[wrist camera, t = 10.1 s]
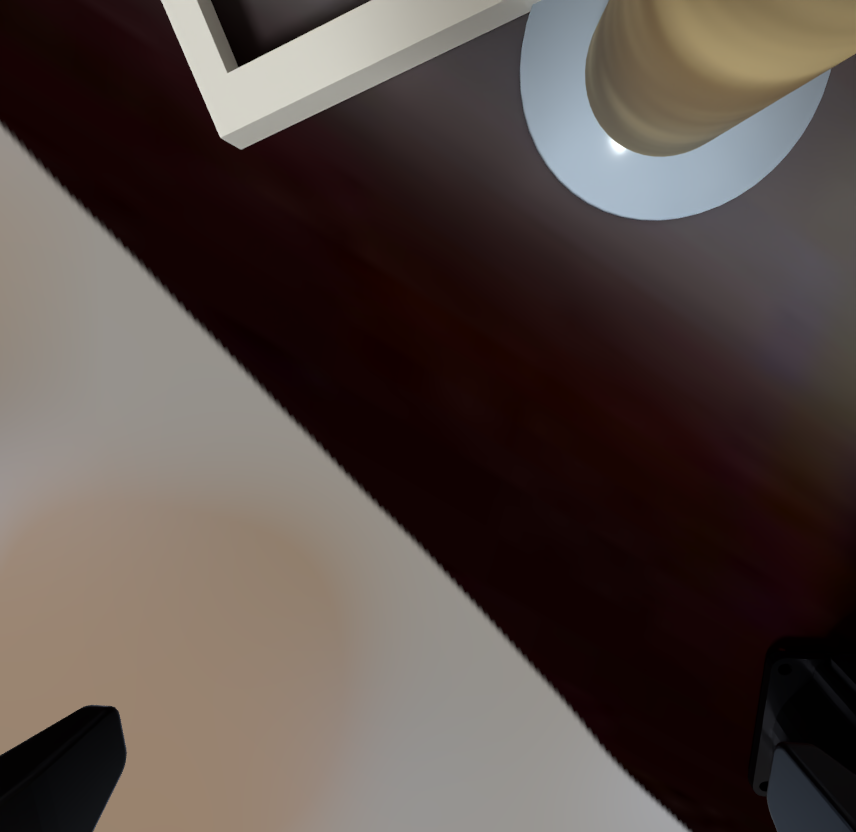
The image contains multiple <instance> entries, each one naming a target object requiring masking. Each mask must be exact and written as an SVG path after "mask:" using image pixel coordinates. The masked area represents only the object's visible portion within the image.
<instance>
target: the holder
mask: <svg viewBox="0 0 856 832" xmlns="http://www.w3.org/2000/svg"><path fill="white" fill-rule="evenodd" d="M161 1H162V3H163V6H164V8H165V10H166V13H167V15H168V17H169V19H170V22H171V24H172V26H173V29H174V31H175V33H176V36H177V38H178V40H179V43H180V45H181V47H182V50H183V52H184V54H185V57H186V59H187V61H188V64H189V66H190V68H191V71H192V73H193V75H194V78H195V80H196V82H197V85H198V87H199V89H200V92H201V94H202V96H203V99H204V101H205V103H206V106H207V108H208V110H209V112H210V115H211V117H212V119H213V122H214V124H215V126H216V129H217V131H218V133H219V136H220V138H222V139H223V140H225V141H227V142H229V143H230V144H232V145H234V146H236V147H238V148H239V149H243V148H245V147H248V146H250V145H252V144H254V143H256V142H258V141H260V140H262V139H264V138H266V137H268V136H271V135H273V134H275V133H277V132H279V131H281V130H283V129H285V128H287V127H289V126H292V125H294V124H296V123H298V122H300V121H302V120H304V119H306V118H308V117H310V116H313V115H315V114H317V113H319V112H321V111H323V110H325V109H327V108H329V107H331V106H333V105H336V104H338V103H340V102H342V101H344V100H346V99H348V98H350V97H352V96H354V95H357V94H359V93H361V92H363V91H365V90H367V89H369V88H371V87H373V86H375V85H378V84H380V83H382V82H384V81H386V80H388V79H390V78H392V77H394V76H396V75H398V74H401V73H403V72H405V71H407V70H409V69H411V68H413V67H415V66H417V65H419V64H422V63H424V62H426V61H428V60H430V59H432V58H434V57H436V56H438V55H440V54H443V53H445V52H447V51H449V50H451V49H453V48H455V47H457V46H459V45H461V44H463V43H466V42H468V41H470V40H472V39H474V38H476V37H478V36H480V35H482V34H484V33H487V32H489V31H491V30H493V29H495V28H497V27H499V26H501V25H503V24H505V23H508V22H510V21H512V20H514V19H516V18H518V17H520V16H522V15H524V14H526V13H528V12H530V11H531V8H532V5H533V4H535V3H537V2H539V1H541V0H371V1H369V2H367V3H365V4H363V5H361V6H359V7H357V8H355V9H353V10H351V11H349V12H347V13H345V14H343V15H341V16H339V17H337V18H335V19H334V20H332V21H330V22H328V23H326V24H324V25H322V26H320V27H318V28H316V29H314V30H312V31H310V32H308V33H306V34H304V35H302V36H300V37H298V38H296V39H294V40H292V41H290V42H288V43H286V44H284V45H282V46H280V47H278V48H276V49H274V50H272V51H270V52H268V53H266V54H264V55H263V56H261V57H259V58H257V59H255V60H253V61H251V62H249V63H247V64H245V65H243V66H241V67H238V65H237V63H236V60H235V58H234V55H233V53H232V51H231V48H230V46H229V43H228V41H227V38H226V36H225V34H224V31H223V29H222V26H221V24H220V21H219V19H218V17H217V14H216V12H215V9H214V7H213V5H212V2H211V0H161Z"/></svg>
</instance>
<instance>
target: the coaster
mask: <svg viewBox="0 0 856 832" xmlns="http://www.w3.org/2000/svg"><path fill="white" fill-rule="evenodd" d="M608 1H609V0H541V1H539V2H537V3H535V4H533V5H532V8H531V11H530V14H529V17H528V21H527V24H526V29H525V34H524V39H523V44H522V50H521V60H520V73H519V74H520V95H521V101H522V107H523V113H524V117H525V120H526V124H527V127H528V131H529V134H530V136H531V138H532V141H533V143H534V145H535V147H536V150H537V152H538V153H539V155H540V156H541V158H542V160H543V161H544V163H545V165H546V166H547V168H548V169H549V170H550V171H551V172H552V174H553V175H554V176H555V177H556V179H557V180H558V181H559V182H560V183H561V184H562V185H563V186H564V187H566V188H567V189H568V190H569V191H570V192H571V193H572V194H574V195H575V196H577V197H578V198H579V199H581V200H582V201H584V202H585V203H587V204H589V205H591V206H593V207H595V208H597V209H599V210H601V211H603V212H606V213H609V214H612V215H615V216H618V217H623V218H628V219H634V220H646V221H661V220H671V219H678V218H682V217H687V216H691V215H695V214H698V213H701V212H704V211H707V210H709V209H712V208H715V207H718V206H720V205H722V204H724V203H726V202H728V201H730V200H732V199H734V198H736V197H738V196H739V195H741V194H742V193H744V192H745V191H747V190H748V189H750V188H751V187H753V186H754V185H755V184H757V183H758V182H759V181H760V180H761V179H763V178H764V177H765V176H766V175H767V174H769V173H770V172H771V171H772V170H773V169H774V168H775V167H776V166H777V165H778V164H779V163H780V162H781V161H782V160H783V158H784V157H785V156H786V155H787V154H788V153H789V152H790V150H791V149H792V148H793V146H794V145H795V144H796V142H797V141H798V140H799V138H800V137H801V136H802V134H803V132H804V131H805V129H806V127H807V126H808V124H809V122H810V121H811V119H812V117H813V116H814V113H815V111H816V109H817V107H818V105H819V102H820V100H821V98H822V96H823V93H824V90H825V87H826V84H827V81H828V78H829V75H830V71H831V69H829V70H828V71H826V72H824V73H823V74H821V75H819V76H818V77H816V78H814V79H813V80H811V81H809V82H808V83H806V84H804V85H803V86H801V87H799V88H798V89H796V90H794V91H793V92H791V93H789V94H788V95H786V96H784V97H783V98H781V99H779V100H778V101H776V102H774V103H773V104H771V105H769V106H768V107H766V108H764V109H763V110H761V111H759V112H758V113H756V114H754V115H753V116H751V117H749V118H748V119H746V120H744V121H743V122H741V123H739V124H738V125H736V126H734V127H733V128H731V129H729V130H728V131H726V132H724V133H723V134H721V135H720V136H718V137H716V138H715V139H713V140H711V141H710V142H708V143H706V144H704V145H702V146H701V147H699V148H697V149H694V150H692V151H689V152H687V153H683V154H679V155H675V156H666V157H653V156H647V155H642V154H639V153H635V152H632V151H630V150H628V149H626V148H624V147H622V146H621V145H620V144H618V143H617V142H615V141H614V140H613V139H612V138H611V137H610V136H608V135H607V134H606V132H605V131H604V130H603V129H602V127H601V126H600V125H599V123H598V121H597V120H596V118H595V116H594V114H593V112H592V109H591V107H590V104H589V100H588V97H587V91H586V85H585V66H586V58H587V53H588V48H589V45H590V42H591V39H592V36H593V33H594V31H595V29H596V27H597V25H598V23H599V20H600V18H601V16H602V14H603V12H604V10H605V8H606V6H607V3H608Z"/></svg>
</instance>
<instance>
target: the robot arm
mask: <svg viewBox="0 0 856 832" xmlns="http://www.w3.org/2000/svg"><path fill="white" fill-rule="evenodd" d="M782 664H786V665H785V666H784V667H782V668H779V666H781V665H782ZM126 754H127V752H126V745H125V740H124V735H123V730H122V725H121V719H120V715H119V712H118V710H117V709H116V708H115V707H112V706H100V705H89V706H85V707H83V708H81V709H79V710H77V711H75V712H74V713H72V714H70V715H69V716H67V717H65V718H63V719H62V720H60V721H58V722H57V723H55V724H53V725H52V726H50V727H48V728H46V729H45V730H43V731H41V732H40V733H38V734H36V735H34V736H33V737H31V738H29V739H28V740H26V741H24V742H23V743H21V744H19V745H17V746H16V747H14V748H12V749H11V750H9V751H7V752H5V753H4V754H2V755H0V832H93V831H94V829H95V827H96V824H97V823H98V820H99V818H100V817H101V814H102V812H103V810H104V808H105V806H106V804H107V802H108V800H109V798H110V796H111V794H112V792H113V790H114V788H115V786H116V784H117V782H118V780H119V778H120V776H121V774H122V772H123V769H124V766H125V762H126ZM748 781H749V783H750V784H751V786H752V788H753V790H754V791H755V793H757V794H758V795H761V796H767V801H768V806H769V810H770V813H771V816H772V819H773V821H774V824H775V827H776V829H777V832H856V653H818V652H792V651H778V652H774V653H772V654H770V655H769V656H768V657H767V660H766V663H765V669H764V676H763V682H762V689H761V695H760V702H759V708H758V715H757V721H756V728H755V734H754V741H753V748H752V754H751V761H750V767H749V774H748Z"/></svg>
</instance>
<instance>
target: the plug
mask: <svg viewBox="0 0 856 832" xmlns="http://www.w3.org/2000/svg"><path fill="white" fill-rule="evenodd" d="M854 54H856V0H609V1H608V3H607V6H606V8H605V10H604V12H603V14H602V16H601V18H600V20H599V23H598V25H597V27H596V29H595V31H594V33H593V36H592V39H591V42H590V45H589V48H588V53H587V58H586V66H585V85H586V91H587V97H588V100H589V104H590V107H591V109H592V112H593V114H594V116H595V118H596V120H597V121H598V123H599V125H600V126H601V127H602V129H603V130H604V131H605V132H606V134H607V135H608V136H610V137H611V138H612V139H613V140H614V141H615V142H617V143H618V144H620V145H621V146H622V147H624V148H626V149H628V150H630V151H632V152H635V153H639V154H642V155H647V156H653V157H666V156H675V155H679V154H683V153H687V152H689V151H692V150H694V149H697V148H699V147H701V146H702V145H704V144H706V143H708V142H710V141H711V140H713V139H715V138H716V137H718V136H720V135H721V134H723V133H724V132H726V131H728V130H729V129H731V128H733V127H734V126H736V125H738V124H739V123H741V122H743V121H744V120H746V119H748V118H749V117H751V116H753V115H754V114H756V113H758V112H759V111H761V110H763V109H764V108H766V107H768V106H769V105H771V104H773V103H774V102H776V101H778V100H779V99H781V98H783V97H784V96H786V95H788V94H789V93H791V92H793V91H794V90H796V89H798V88H799V87H801V86H803V85H804V84H806V83H808V82H809V81H811V80H813V79H814V78H816V77H818V76H819V75H821V74H823V73H824V72H826V71H828V70H829V69H831V68H833V67H834V66H836V65H838V64H839V63H841V62H843V61H844V60H846V59H848V58H849V57H851V56H853V55H854Z"/></svg>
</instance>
